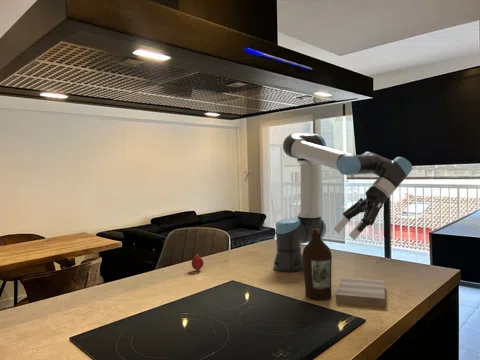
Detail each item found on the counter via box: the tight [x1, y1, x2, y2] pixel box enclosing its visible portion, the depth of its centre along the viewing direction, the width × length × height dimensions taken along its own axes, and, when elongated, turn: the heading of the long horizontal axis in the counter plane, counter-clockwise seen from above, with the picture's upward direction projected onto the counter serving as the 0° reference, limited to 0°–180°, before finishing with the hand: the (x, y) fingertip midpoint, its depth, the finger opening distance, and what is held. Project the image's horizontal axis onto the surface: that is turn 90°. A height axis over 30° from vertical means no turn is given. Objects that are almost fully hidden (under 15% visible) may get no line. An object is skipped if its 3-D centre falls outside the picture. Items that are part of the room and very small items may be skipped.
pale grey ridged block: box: [335, 276, 386, 308], centre depth 129 cm, size 20×16×3 cm
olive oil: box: [302, 229, 333, 301], centre depth 130 cm, size 11×11×25 cm
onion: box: [191, 254, 205, 272], centre depth 170 cm, size 6×6×8 cm
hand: (343, 234), depth 131 cm, fingers open, 13 cm apart
